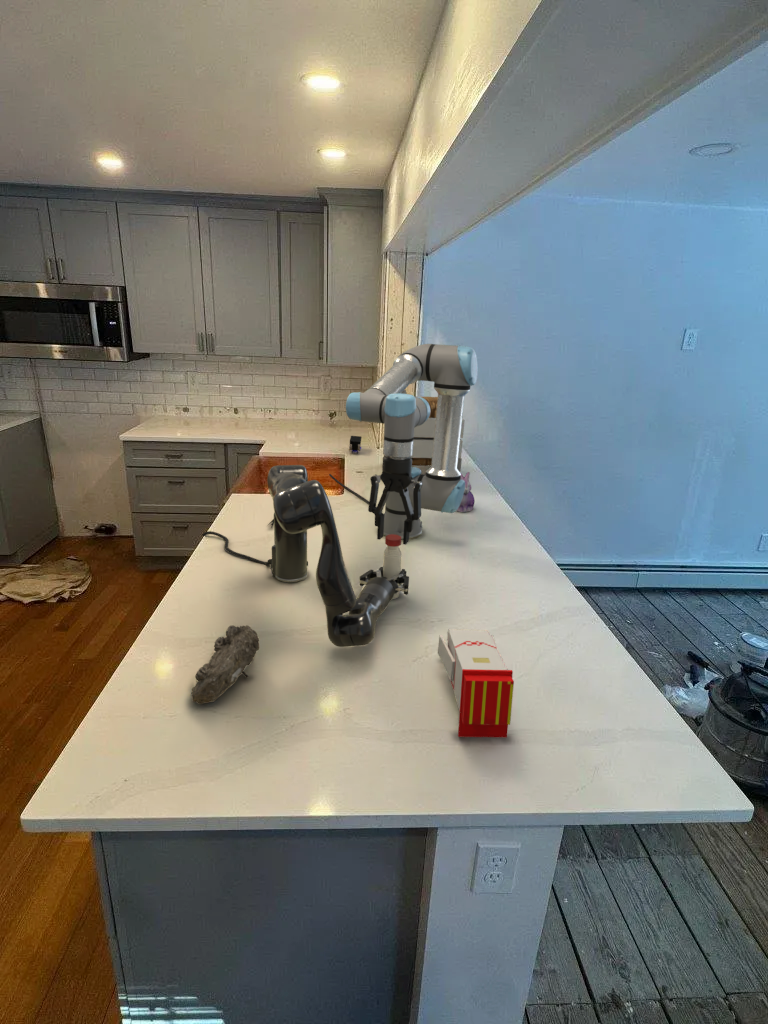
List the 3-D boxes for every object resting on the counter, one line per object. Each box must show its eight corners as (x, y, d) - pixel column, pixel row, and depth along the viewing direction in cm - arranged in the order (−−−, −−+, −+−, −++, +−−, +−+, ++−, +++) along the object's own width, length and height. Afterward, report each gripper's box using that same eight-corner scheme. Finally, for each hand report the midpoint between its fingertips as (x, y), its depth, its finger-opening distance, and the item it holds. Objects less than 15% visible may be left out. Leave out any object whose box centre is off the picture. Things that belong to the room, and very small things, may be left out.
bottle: (402, 595, 157) (406, 539, 152) (390, 600, 154) (393, 543, 148) (390, 589, 160) (393, 533, 155) (377, 594, 157) (380, 538, 152)
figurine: (461, 514, 221) (464, 477, 216) (446, 506, 230) (449, 470, 225) (480, 511, 226) (484, 475, 221) (466, 503, 234) (469, 468, 229)
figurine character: (361, 457, 304) (361, 447, 317) (361, 444, 301) (362, 434, 314) (348, 456, 304) (349, 447, 317) (348, 443, 300) (349, 434, 314)
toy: (488, 613, 130) (523, 677, 101) (484, 667, 133) (517, 744, 104) (435, 612, 130) (455, 676, 101) (432, 666, 133) (451, 743, 103)
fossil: (211, 627, 129) (258, 597, 124) (240, 656, 132) (287, 627, 127) (170, 698, 110) (224, 665, 105) (204, 729, 113) (259, 699, 108)
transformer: (382, 463, 289) (386, 382, 275) (445, 464, 293) (451, 384, 279) (390, 482, 257) (394, 392, 243) (460, 483, 261) (468, 394, 247)
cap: (404, 544, 152) (404, 537, 151) (393, 548, 149) (393, 541, 149) (393, 539, 155) (393, 533, 154) (381, 542, 152) (382, 536, 151)
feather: (287, 506, 225) (290, 502, 224) (270, 530, 198) (272, 526, 198) (283, 504, 225) (286, 500, 224) (265, 527, 198) (268, 523, 197)
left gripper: (402, 589, 139) (420, 562, 154) (348, 579, 143) (370, 553, 158) (401, 616, 142) (418, 586, 157) (347, 605, 145) (369, 577, 161)
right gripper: (438, 458, 144) (432, 541, 152) (367, 448, 150) (364, 529, 158) (430, 464, 137) (423, 551, 145) (356, 454, 144) (353, 538, 151)
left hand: (394, 570), depth 157 cm, fingers closed on bottle, 5 cm apart
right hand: (393, 540), depth 151 cm, fingers open, 7 cm apart
